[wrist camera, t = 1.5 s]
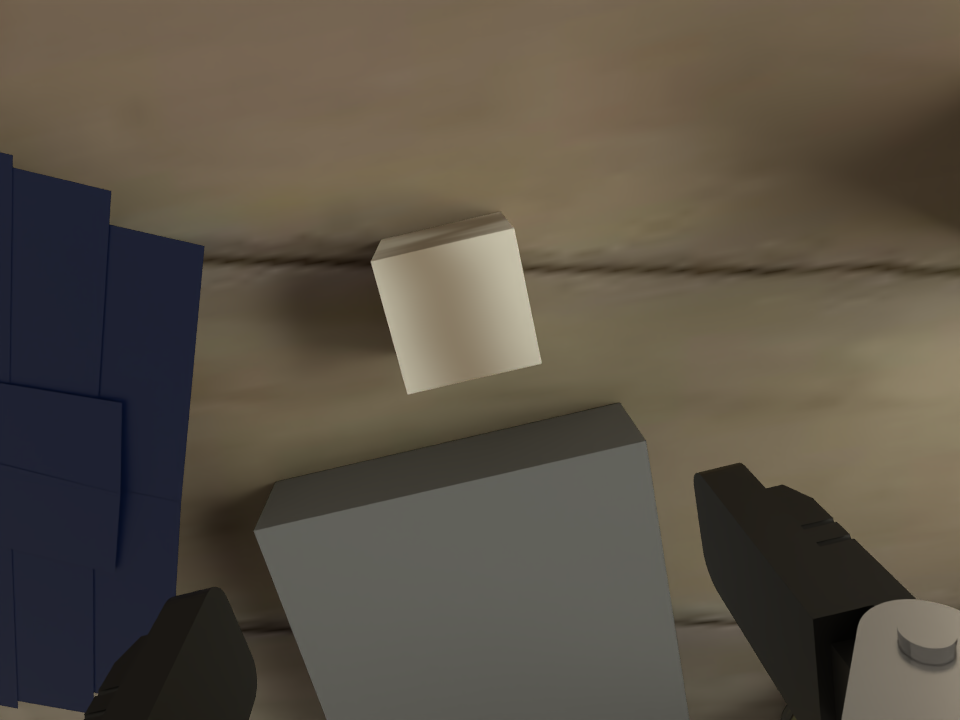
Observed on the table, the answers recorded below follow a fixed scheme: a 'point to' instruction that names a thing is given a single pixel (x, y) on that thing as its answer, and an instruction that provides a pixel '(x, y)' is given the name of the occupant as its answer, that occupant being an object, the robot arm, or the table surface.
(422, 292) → the cream cube
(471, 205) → the table surface
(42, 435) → the papers
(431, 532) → the charcoal plinth
